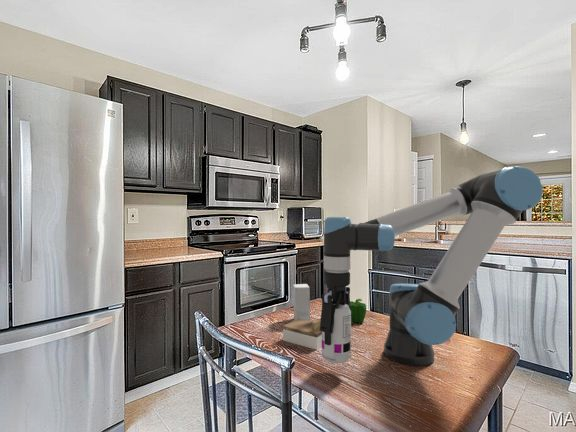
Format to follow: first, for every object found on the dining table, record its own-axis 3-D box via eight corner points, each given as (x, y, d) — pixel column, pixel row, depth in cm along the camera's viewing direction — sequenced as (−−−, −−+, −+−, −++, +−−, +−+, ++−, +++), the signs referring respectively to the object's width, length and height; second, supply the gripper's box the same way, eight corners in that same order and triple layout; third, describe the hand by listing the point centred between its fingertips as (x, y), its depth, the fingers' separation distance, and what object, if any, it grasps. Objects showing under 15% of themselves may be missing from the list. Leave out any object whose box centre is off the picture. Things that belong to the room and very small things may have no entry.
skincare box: (310, 324, 130) (310, 287, 130) (294, 325, 129) (294, 287, 129) (307, 318, 138) (307, 283, 138) (292, 318, 138) (292, 283, 138)
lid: (330, 327, 112) (330, 317, 112) (317, 336, 104) (317, 325, 104) (298, 320, 120) (298, 310, 120) (283, 328, 112) (283, 317, 112)
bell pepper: (342, 320, 136) (342, 297, 136) (356, 317, 140) (356, 294, 140) (354, 325, 129) (354, 301, 129) (369, 322, 133) (369, 299, 133)
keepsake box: (330, 341, 112) (330, 329, 112) (317, 350, 104) (317, 337, 104) (298, 333, 120) (298, 321, 120) (283, 341, 112) (283, 329, 112)
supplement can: (328, 366, 84) (328, 310, 84) (317, 353, 92) (317, 302, 92) (355, 362, 86) (356, 308, 86) (342, 350, 94) (343, 300, 94)
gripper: (340, 265, 100) (339, 336, 100) (306, 274, 83) (306, 360, 83) (362, 267, 96) (362, 341, 96) (332, 277, 79) (331, 368, 78)
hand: (336, 350), depth 89 cm, fingers closed on supplement can, 8 cm apart
